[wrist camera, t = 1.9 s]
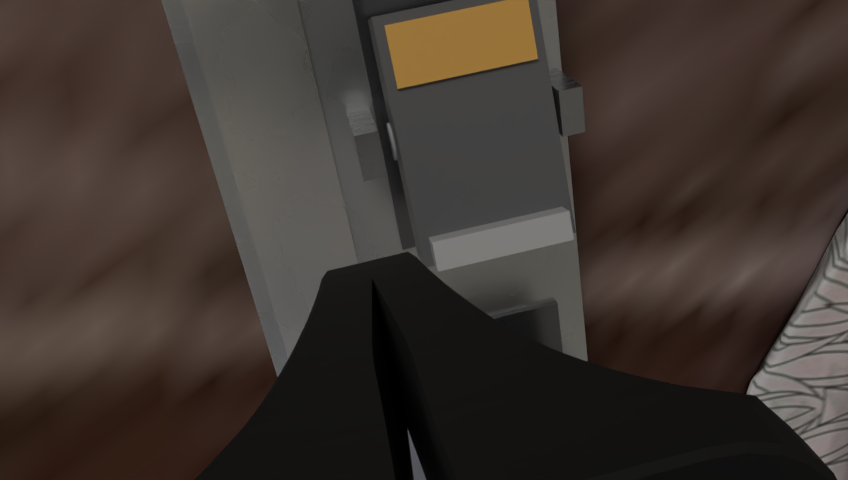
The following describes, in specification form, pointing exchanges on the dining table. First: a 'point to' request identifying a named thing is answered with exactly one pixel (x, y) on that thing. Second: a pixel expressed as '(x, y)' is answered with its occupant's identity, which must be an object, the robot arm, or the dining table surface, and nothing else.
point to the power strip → (342, 163)
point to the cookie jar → (814, 361)
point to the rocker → (473, 129)
